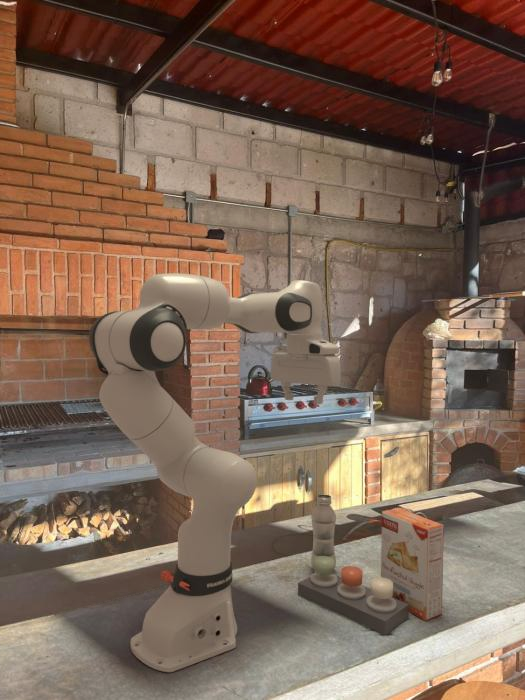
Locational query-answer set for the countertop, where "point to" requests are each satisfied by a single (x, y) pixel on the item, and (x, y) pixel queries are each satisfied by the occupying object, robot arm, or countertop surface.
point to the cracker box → (413, 560)
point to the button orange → (351, 576)
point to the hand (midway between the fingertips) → (303, 401)
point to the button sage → (324, 565)
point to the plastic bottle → (323, 529)
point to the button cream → (381, 588)
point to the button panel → (354, 602)
